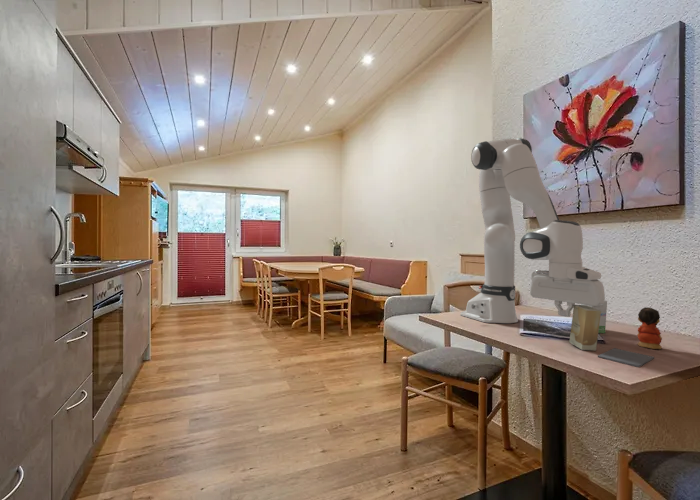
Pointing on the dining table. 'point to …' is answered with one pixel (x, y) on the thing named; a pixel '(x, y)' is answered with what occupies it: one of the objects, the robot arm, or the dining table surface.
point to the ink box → (603, 316)
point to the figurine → (649, 329)
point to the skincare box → (585, 327)
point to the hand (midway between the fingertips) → (564, 315)
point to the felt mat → (626, 357)
